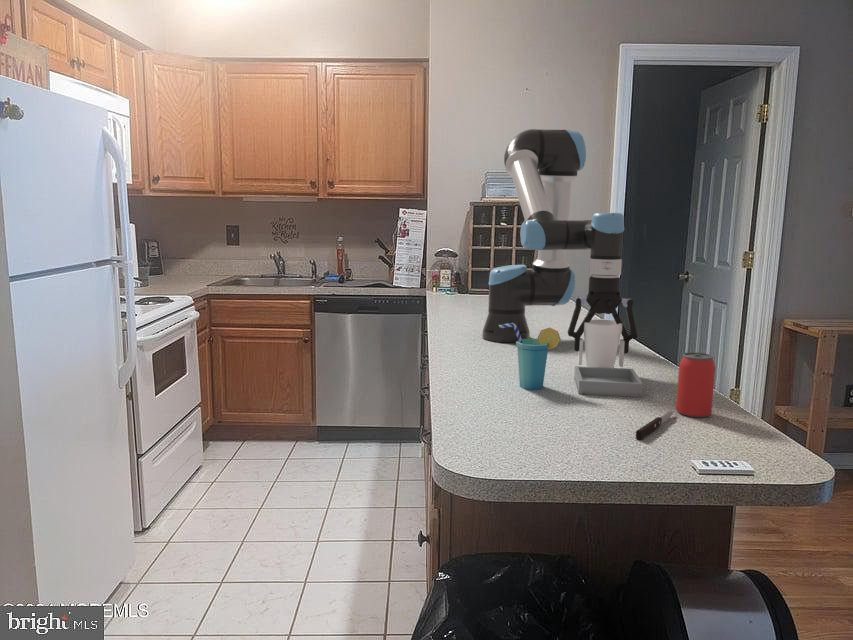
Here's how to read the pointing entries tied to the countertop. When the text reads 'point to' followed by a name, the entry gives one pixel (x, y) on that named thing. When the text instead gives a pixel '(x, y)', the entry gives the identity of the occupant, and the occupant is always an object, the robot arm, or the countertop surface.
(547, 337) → the cup
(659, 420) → the kitchen knife
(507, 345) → the countertop surface
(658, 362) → the countertop surface
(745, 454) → the countertop surface
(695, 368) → the beer can
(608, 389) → the tray
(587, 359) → the foam cup
